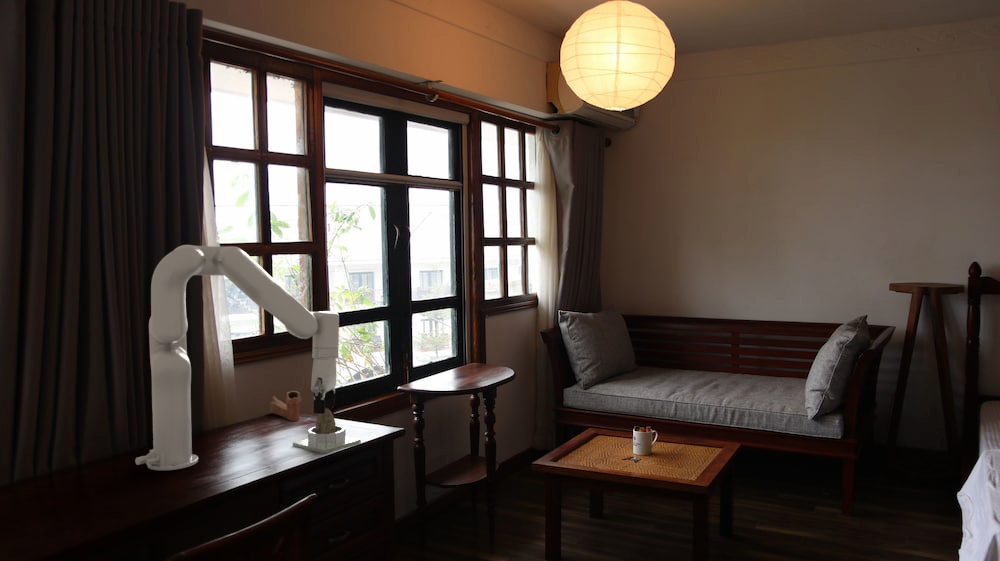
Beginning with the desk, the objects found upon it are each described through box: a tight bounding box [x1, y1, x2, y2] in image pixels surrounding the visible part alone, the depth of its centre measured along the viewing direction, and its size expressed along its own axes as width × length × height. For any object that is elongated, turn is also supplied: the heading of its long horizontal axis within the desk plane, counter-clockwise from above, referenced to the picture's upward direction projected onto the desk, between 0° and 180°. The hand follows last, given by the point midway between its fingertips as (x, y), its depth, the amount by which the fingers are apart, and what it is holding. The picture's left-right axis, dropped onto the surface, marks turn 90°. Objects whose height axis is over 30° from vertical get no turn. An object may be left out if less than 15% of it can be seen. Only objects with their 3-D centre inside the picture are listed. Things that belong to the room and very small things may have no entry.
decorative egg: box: [315, 407, 337, 434], centre depth 214 cm, size 6×6×10 cm
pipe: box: [269, 390, 302, 422], centre depth 248 cm, size 5×18×10 cm, turn 43°
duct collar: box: [292, 424, 362, 454], centre depth 214 cm, size 14×14×4 cm
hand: (324, 409), depth 213 cm, fingers open, 9 cm apart
